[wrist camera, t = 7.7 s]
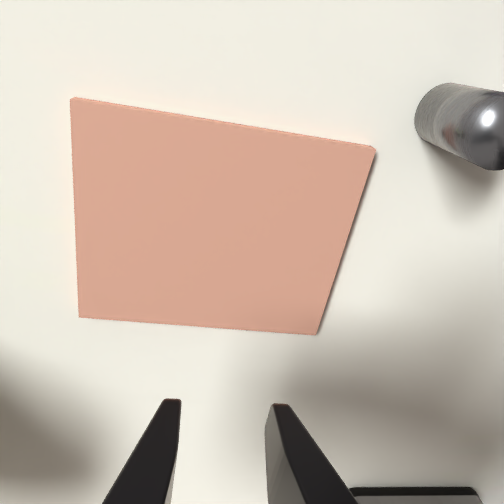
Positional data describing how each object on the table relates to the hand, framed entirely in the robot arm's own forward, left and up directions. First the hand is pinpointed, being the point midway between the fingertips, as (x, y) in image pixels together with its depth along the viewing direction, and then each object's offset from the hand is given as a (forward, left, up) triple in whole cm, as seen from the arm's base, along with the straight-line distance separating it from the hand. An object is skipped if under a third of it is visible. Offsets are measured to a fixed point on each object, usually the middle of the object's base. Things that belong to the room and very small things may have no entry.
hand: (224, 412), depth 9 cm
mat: (0, 0, -10) cm, 10 cm away
